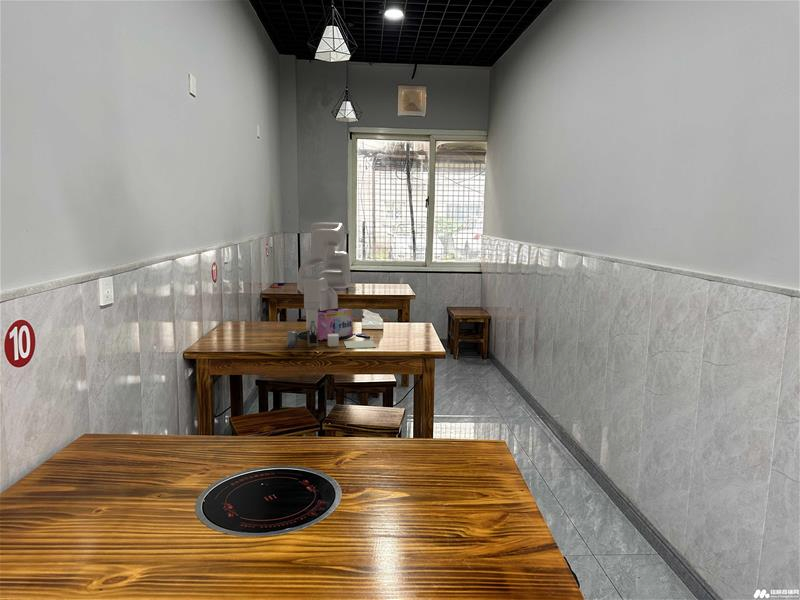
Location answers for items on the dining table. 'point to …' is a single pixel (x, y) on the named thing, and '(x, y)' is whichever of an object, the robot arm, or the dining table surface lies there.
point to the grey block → (333, 339)
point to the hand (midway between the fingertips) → (312, 341)
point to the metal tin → (292, 338)
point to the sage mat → (359, 344)
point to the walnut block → (309, 339)
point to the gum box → (334, 322)
